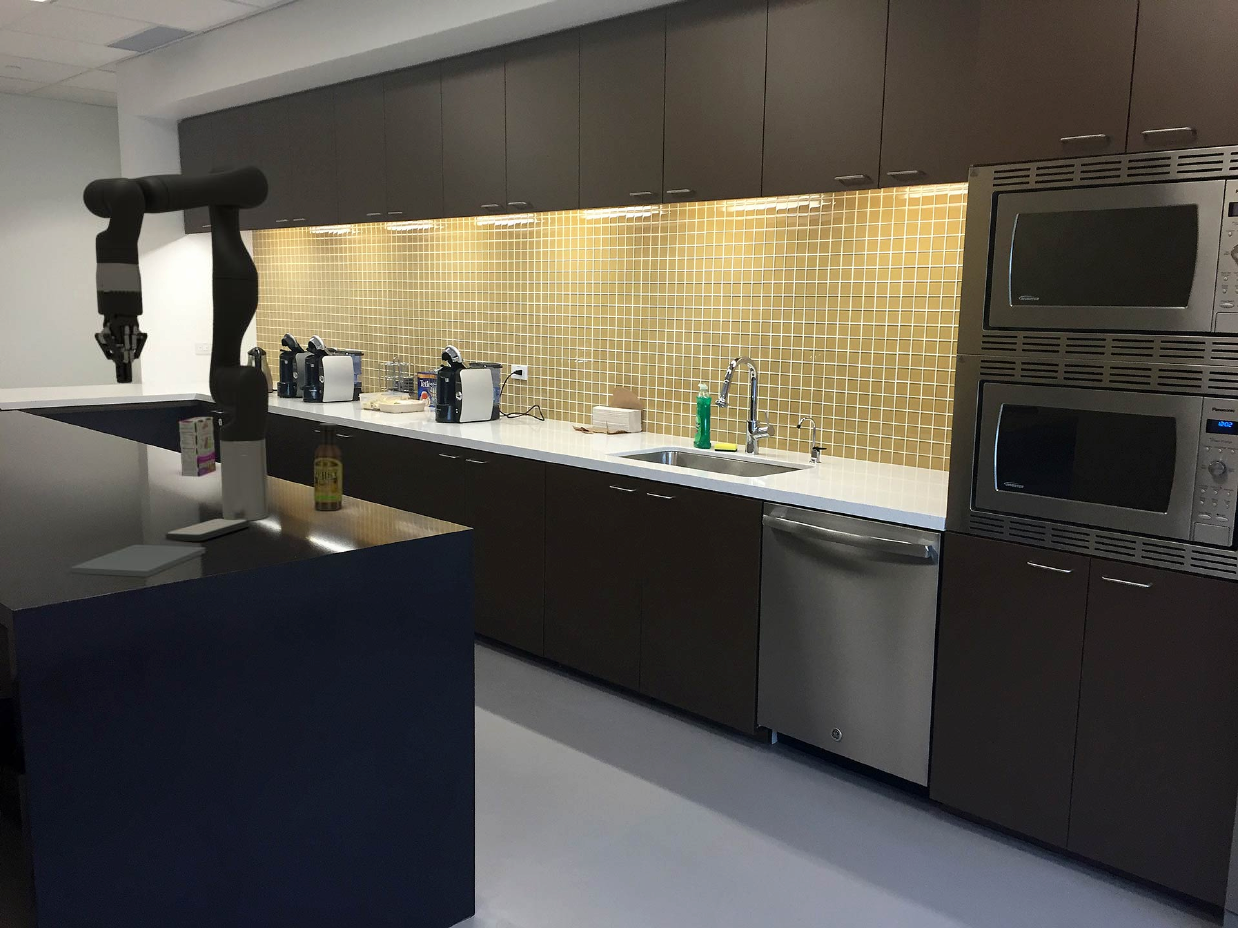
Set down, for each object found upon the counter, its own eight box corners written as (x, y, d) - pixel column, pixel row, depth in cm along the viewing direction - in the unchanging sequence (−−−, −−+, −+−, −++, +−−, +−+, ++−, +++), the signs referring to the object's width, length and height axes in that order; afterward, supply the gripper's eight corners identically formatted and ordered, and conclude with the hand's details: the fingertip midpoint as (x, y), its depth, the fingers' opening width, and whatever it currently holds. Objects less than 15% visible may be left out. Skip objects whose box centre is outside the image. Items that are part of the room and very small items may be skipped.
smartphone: (200, 543, 190) (252, 526, 206) (199, 535, 190) (252, 519, 205) (162, 541, 193) (216, 525, 208) (161, 533, 192) (216, 518, 208)
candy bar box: (198, 475, 275) (196, 416, 272) (216, 475, 275) (214, 416, 272) (180, 481, 264) (177, 420, 261) (199, 481, 264) (196, 420, 261)
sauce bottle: (311, 511, 224) (308, 424, 221) (318, 506, 230) (316, 422, 227) (339, 511, 224) (337, 425, 222) (346, 506, 231) (344, 422, 228)
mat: (135, 549, 184) (135, 544, 184) (205, 552, 183) (205, 547, 182) (70, 573, 167) (70, 567, 166) (147, 576, 165) (147, 571, 165)
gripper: (122, 290, 189) (127, 380, 191) (76, 287, 176) (82, 384, 178) (159, 291, 188) (163, 381, 190) (115, 288, 175) (121, 385, 177)
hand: (124, 382), depth 184 cm, fingers closed
